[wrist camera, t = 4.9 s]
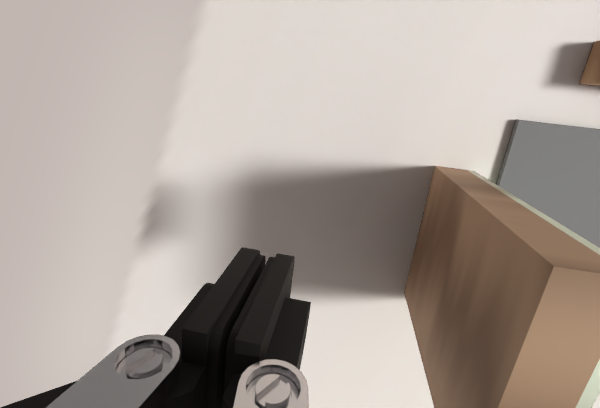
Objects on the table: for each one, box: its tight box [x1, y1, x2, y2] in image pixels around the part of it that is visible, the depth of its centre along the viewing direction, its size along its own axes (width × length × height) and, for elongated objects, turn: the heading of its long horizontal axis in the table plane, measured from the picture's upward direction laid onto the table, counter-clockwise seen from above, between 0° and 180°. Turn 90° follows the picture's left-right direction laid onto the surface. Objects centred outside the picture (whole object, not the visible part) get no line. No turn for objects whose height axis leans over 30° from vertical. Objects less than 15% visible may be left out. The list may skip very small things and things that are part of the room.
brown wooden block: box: [404, 166, 600, 408], centre depth 12 cm, size 7×2×10 cm, turn 174°
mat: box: [496, 120, 600, 248], centre depth 16 cm, size 12×11×1 cm
